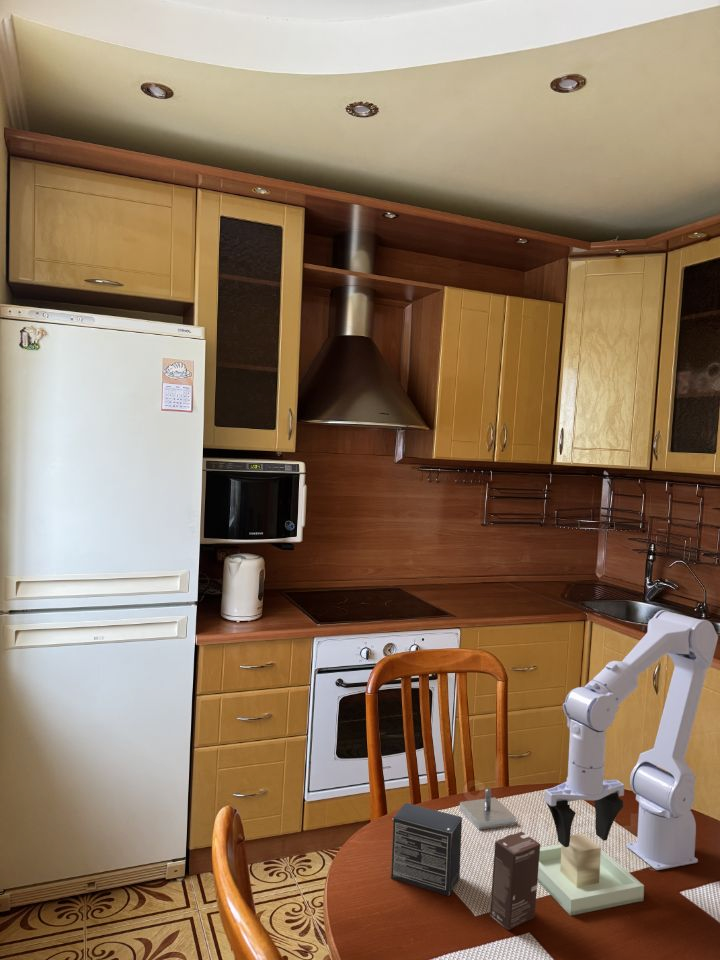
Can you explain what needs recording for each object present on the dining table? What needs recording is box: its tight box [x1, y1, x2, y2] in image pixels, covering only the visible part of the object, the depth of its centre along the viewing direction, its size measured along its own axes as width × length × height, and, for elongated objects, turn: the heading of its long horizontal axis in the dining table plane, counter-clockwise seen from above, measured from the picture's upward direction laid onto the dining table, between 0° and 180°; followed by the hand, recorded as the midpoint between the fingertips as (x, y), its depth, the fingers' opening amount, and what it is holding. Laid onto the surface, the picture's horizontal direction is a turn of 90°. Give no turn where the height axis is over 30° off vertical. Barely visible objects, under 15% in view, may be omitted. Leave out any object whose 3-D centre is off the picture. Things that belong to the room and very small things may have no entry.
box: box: [489, 831, 541, 931], centre depth 106 cm, size 6×4×12 cm
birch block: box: [560, 833, 602, 887], centre depth 116 cm, size 4×4×6 cm
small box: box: [390, 802, 463, 897], centre depth 115 cm, size 11×6×10 cm, turn 65°
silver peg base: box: [459, 787, 517, 831], centre depth 136 cm, size 8×8×6 cm
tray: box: [537, 843, 645, 916], centre depth 116 cm, size 14×14×2 cm
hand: (582, 840), depth 116 cm, fingers open, 7 cm apart
